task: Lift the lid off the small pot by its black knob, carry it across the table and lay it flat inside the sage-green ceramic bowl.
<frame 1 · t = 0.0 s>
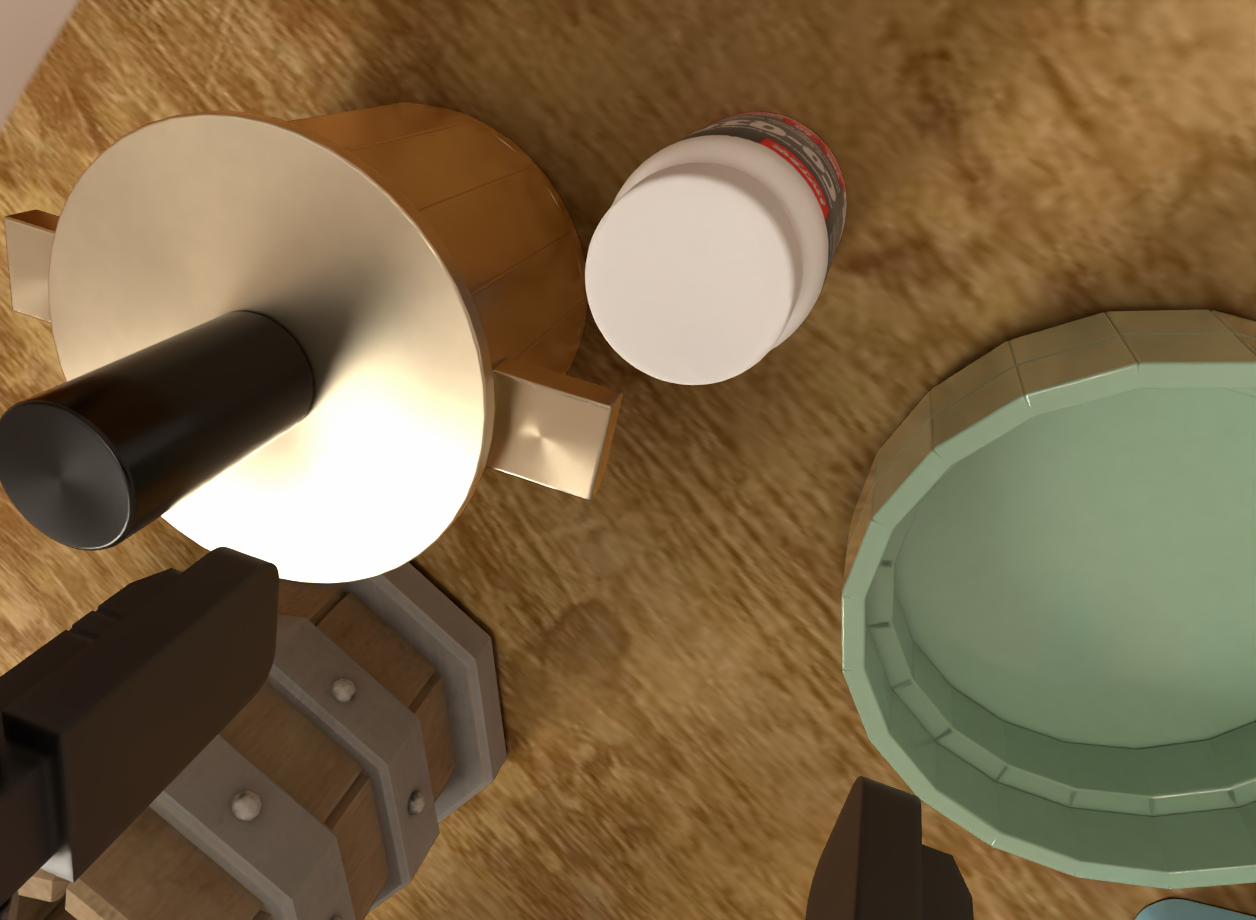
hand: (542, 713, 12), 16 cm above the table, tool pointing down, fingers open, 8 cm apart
pot: (430, 279, 28), on the table
pill bottle: (755, 204, 25), on the table
bowl: (1119, 560, 26), on the table
pot lid: (271, 365, 21), point 8 cm above the table, touching pot
tankard: (264, 659, 37), on the table
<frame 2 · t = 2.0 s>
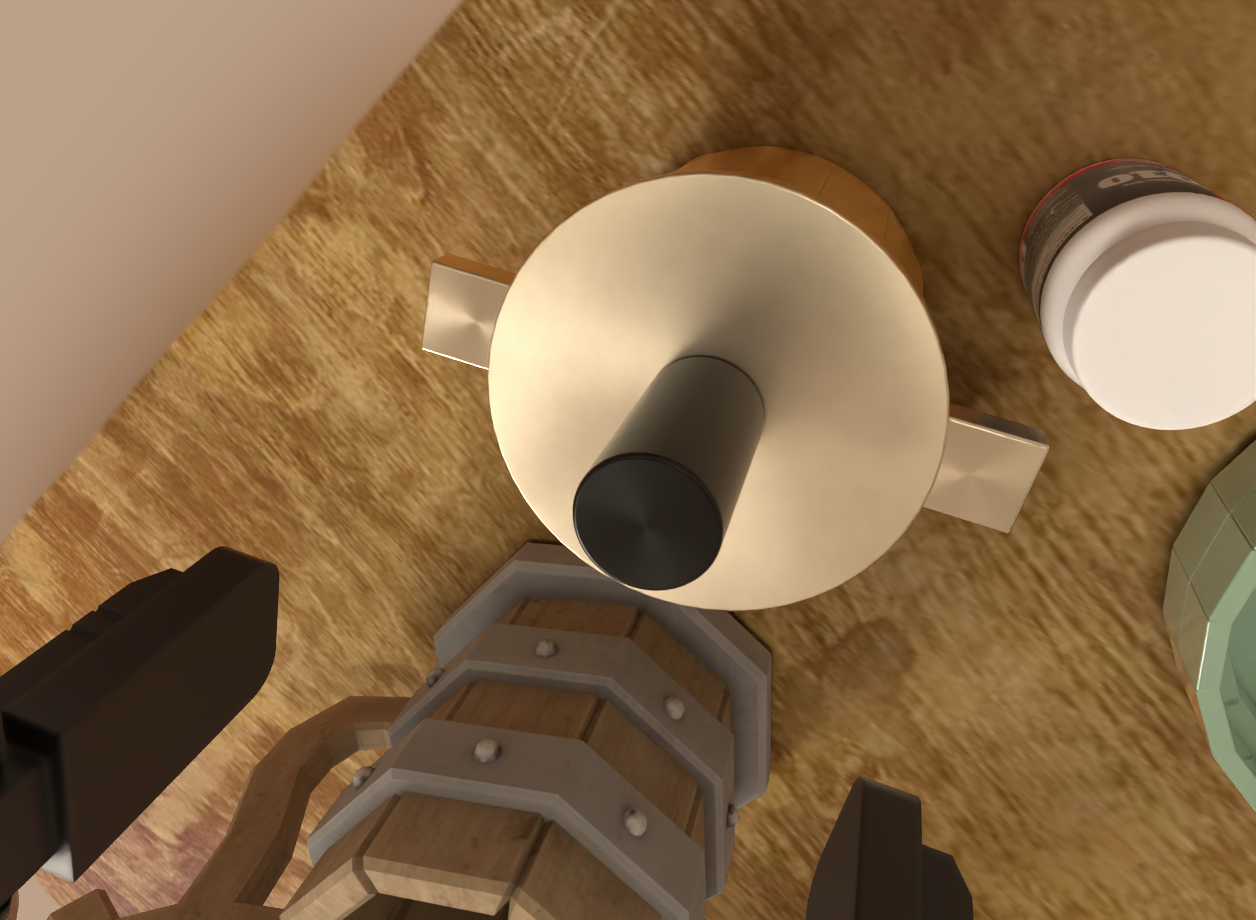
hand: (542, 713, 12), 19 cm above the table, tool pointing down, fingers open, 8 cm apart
pot: (756, 312, 29), on the table
pill bottle: (1108, 244, 26), on the table
pot lid: (707, 405, 22), point 8 cm above the table, touching pot
tankard: (521, 673, 38), on the table
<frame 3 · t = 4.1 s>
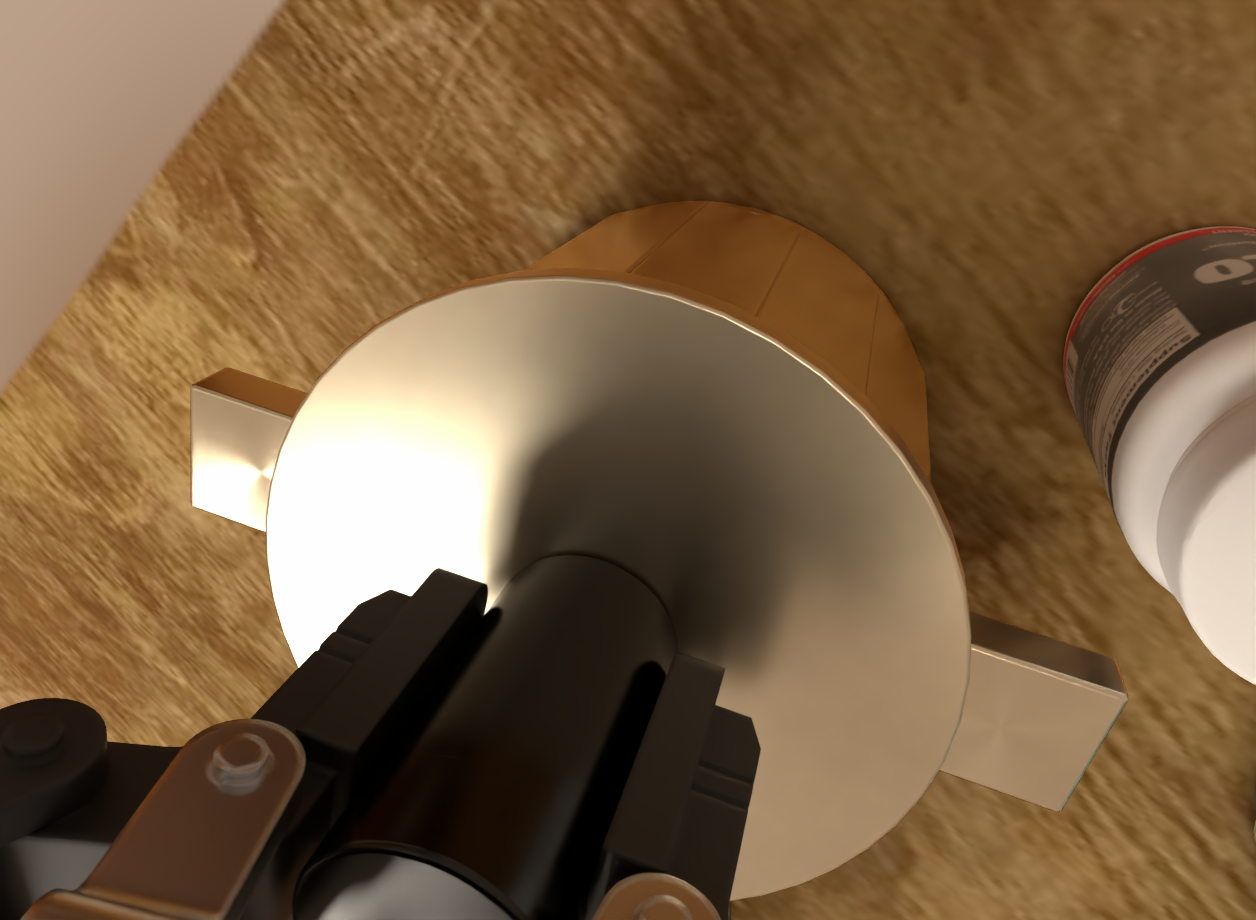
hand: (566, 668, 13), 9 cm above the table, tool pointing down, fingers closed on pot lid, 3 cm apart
pot: (699, 422, 22), on the table
pill bottle: (1191, 344, 18), on the table
pot lid: (596, 616, 15), point 8 cm above the table, touching gripper, pot
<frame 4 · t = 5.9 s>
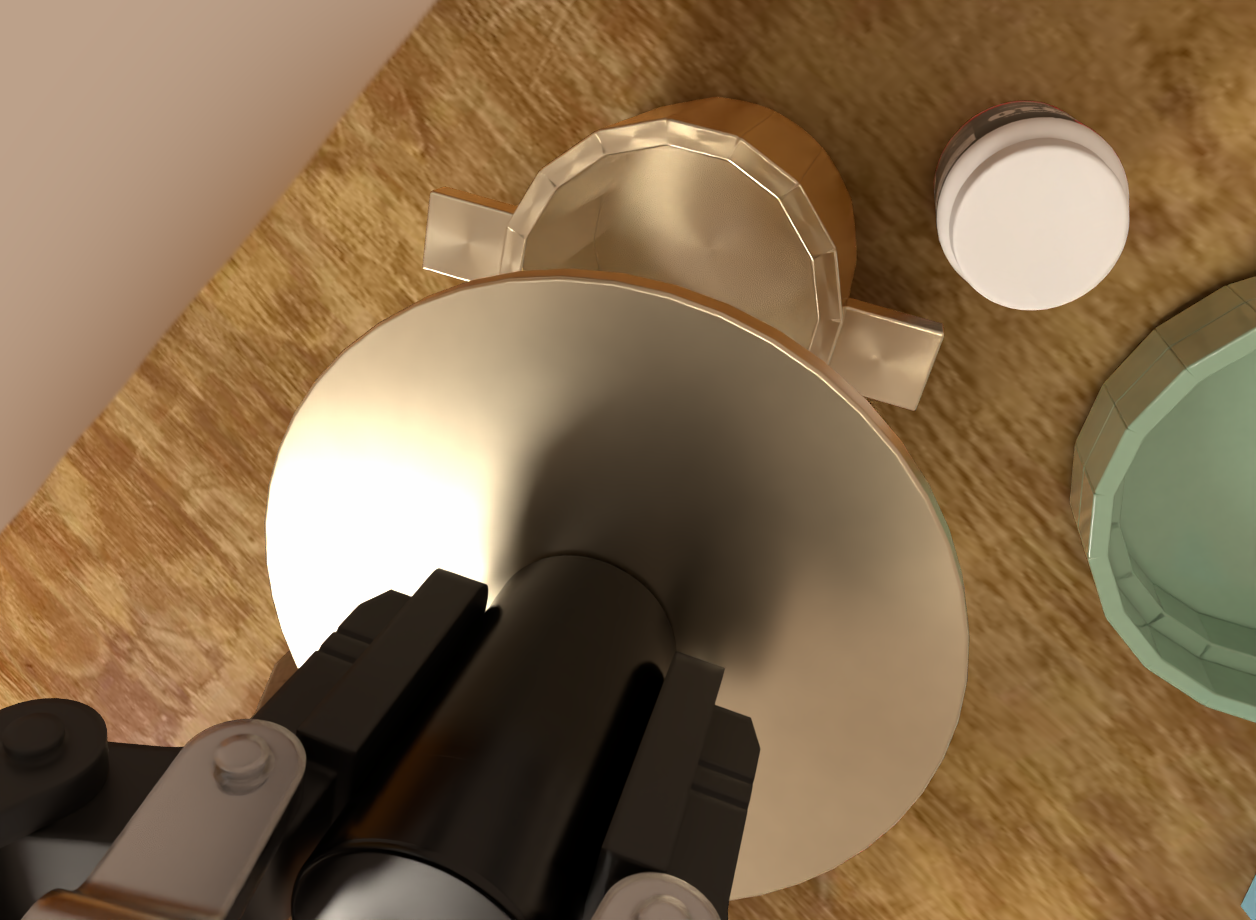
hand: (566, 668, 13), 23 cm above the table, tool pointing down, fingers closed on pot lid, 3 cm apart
pot: (713, 245, 34), on the table
pill bottle: (1010, 177, 31), on the table
pot lid: (595, 616, 15), point 22 cm above the table, touching gripper
tankard: (515, 585, 42), on the table
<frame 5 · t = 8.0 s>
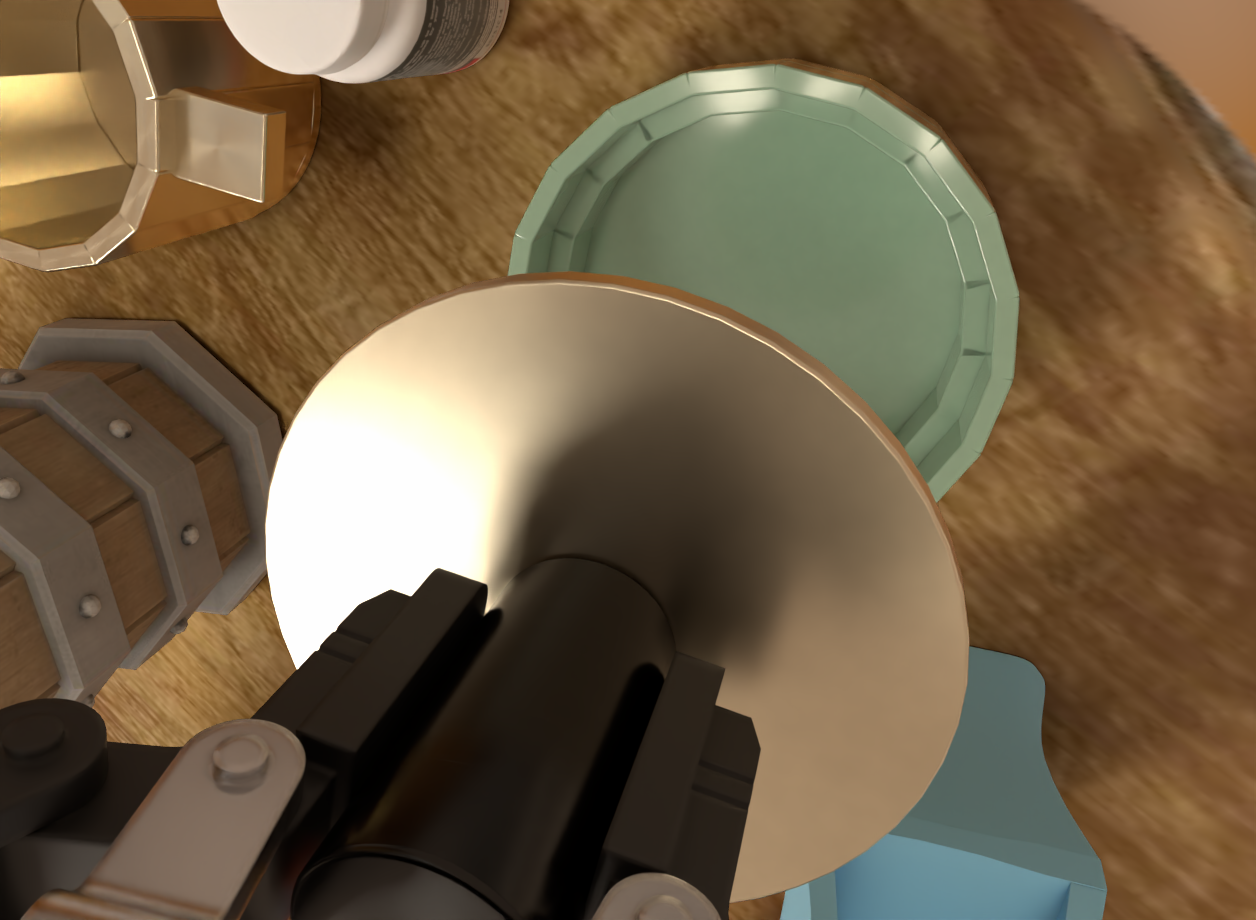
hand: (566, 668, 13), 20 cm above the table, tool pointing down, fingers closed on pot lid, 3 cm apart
pot: (194, 75, 33), on the table
bowl: (764, 301, 31), on the table
vase 2: (918, 721, 36), on the table
pot lid: (594, 619, 15), point 19 cm above the table, touching gripper
tankard: (96, 456, 42), on the table
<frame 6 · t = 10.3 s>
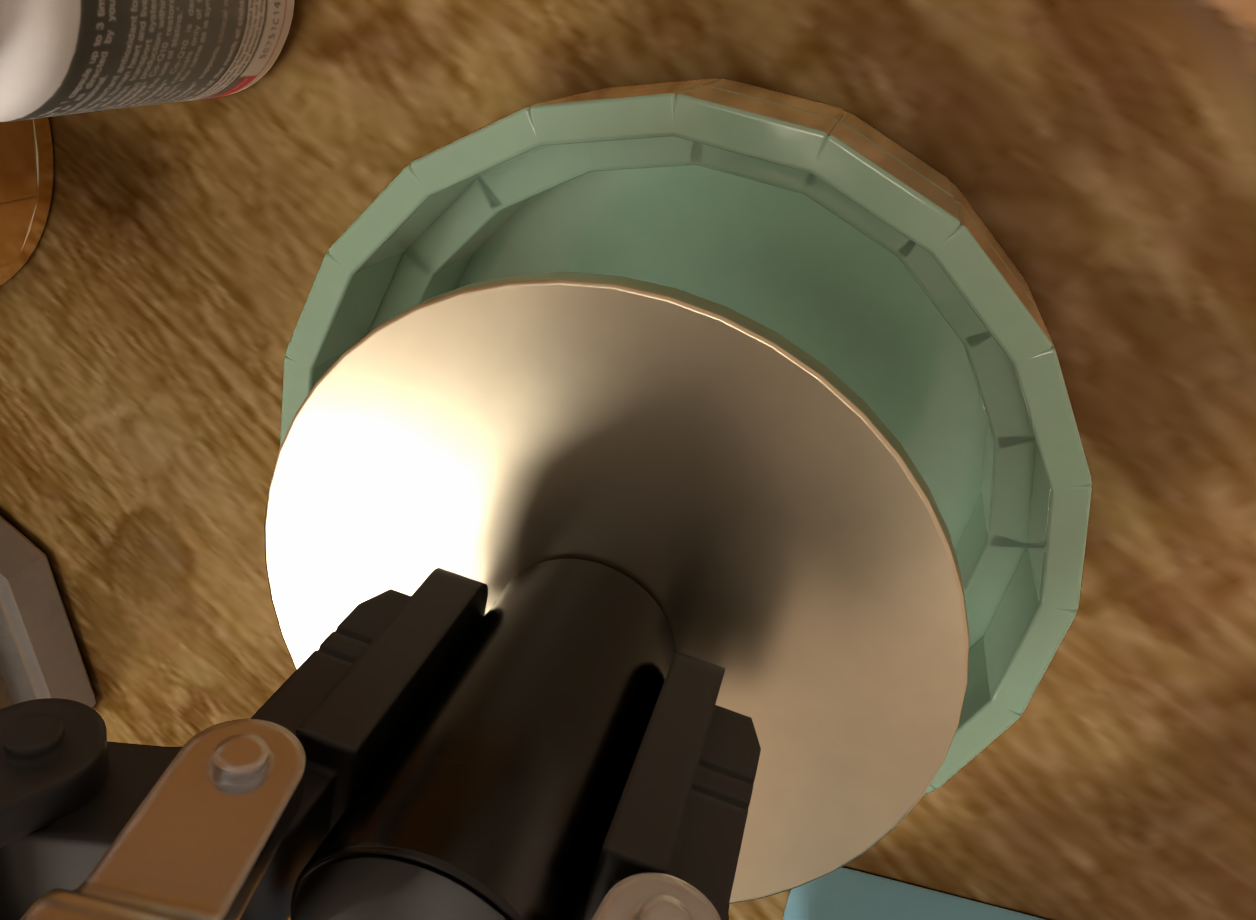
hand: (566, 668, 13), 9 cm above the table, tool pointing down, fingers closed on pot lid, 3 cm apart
bowl: (693, 434, 21), on the table
pot lid: (594, 619, 15), point 7 cm above the table, touching gripper
when the fingers open (2 cm above the table, at t = 12.0 s): pot lid stays where it is, resting on bowl.
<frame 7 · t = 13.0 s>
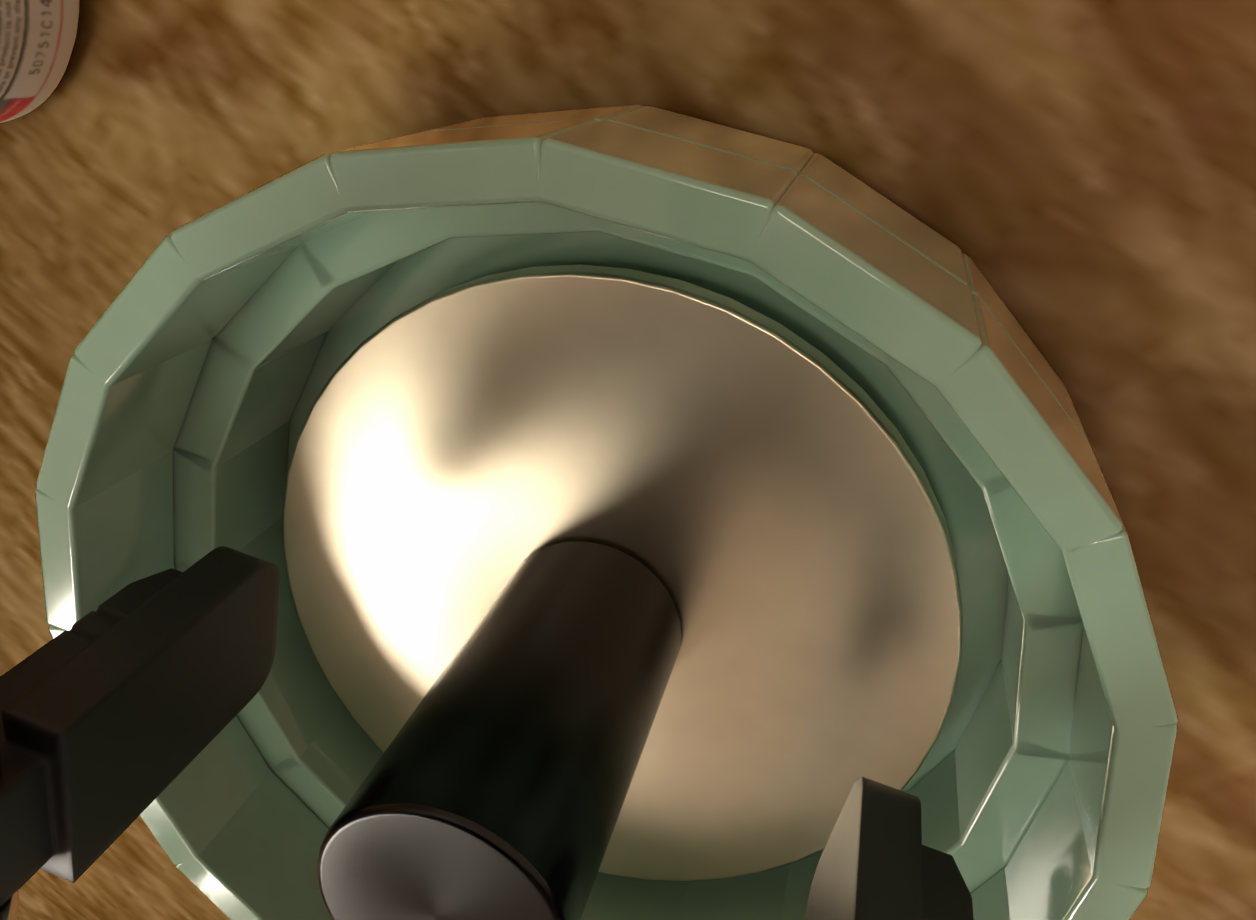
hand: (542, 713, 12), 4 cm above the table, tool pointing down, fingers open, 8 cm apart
bowl: (622, 563, 16), on the table
pot lid: (602, 601, 15), point 1 cm above the table, touching bowl
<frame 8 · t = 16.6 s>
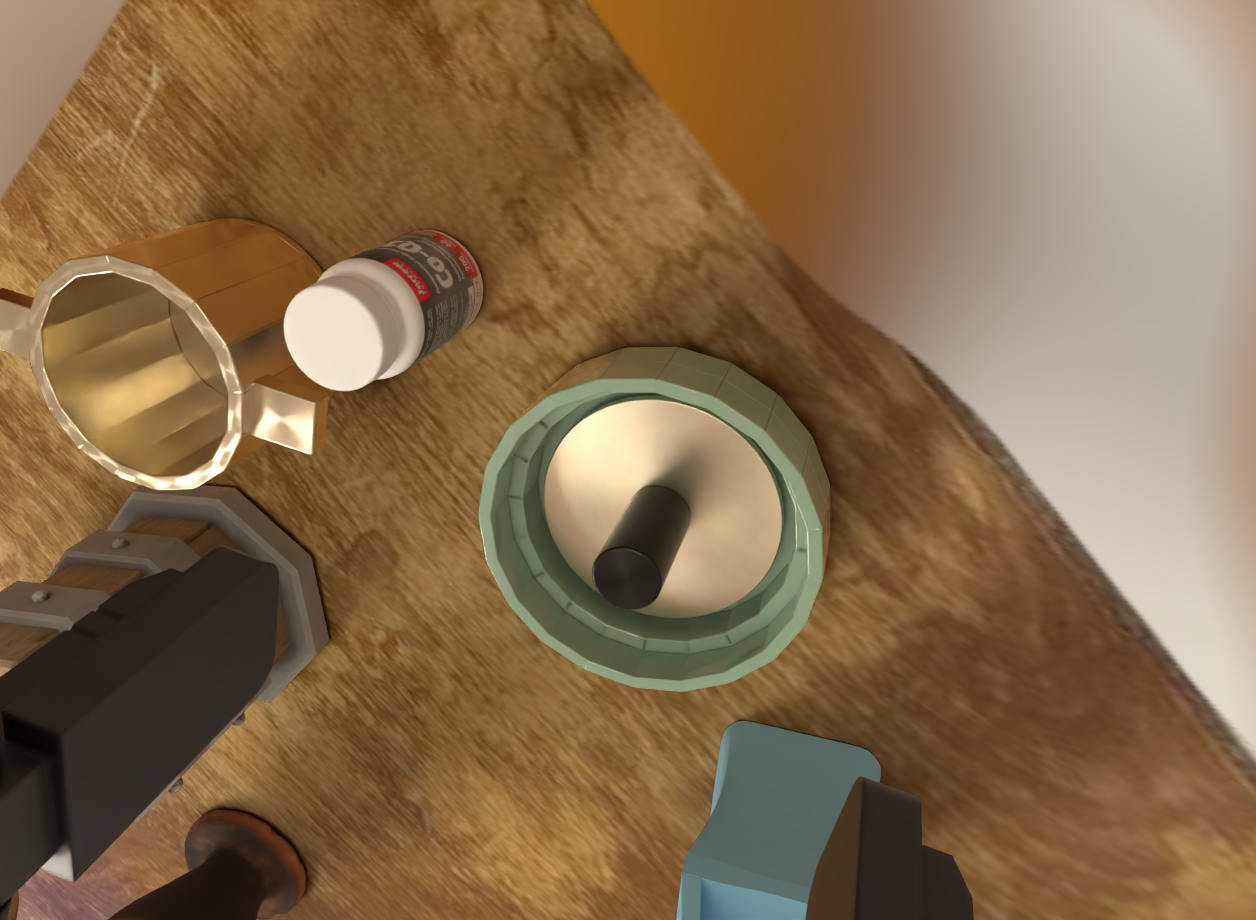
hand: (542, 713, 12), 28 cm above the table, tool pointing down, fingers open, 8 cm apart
pot: (254, 323, 45), on the table
pill bottle: (437, 281, 42), on the table
bowl: (668, 497, 43), on the table
vase: (253, 855, 62), on the table
vase 2: (793, 791, 48), on the table
pot lid: (661, 509, 42), point 1 cm above the table, touching bowl
tankard: (168, 578, 54), on the table
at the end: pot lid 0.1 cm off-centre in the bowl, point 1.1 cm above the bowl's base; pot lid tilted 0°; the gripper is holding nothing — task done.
